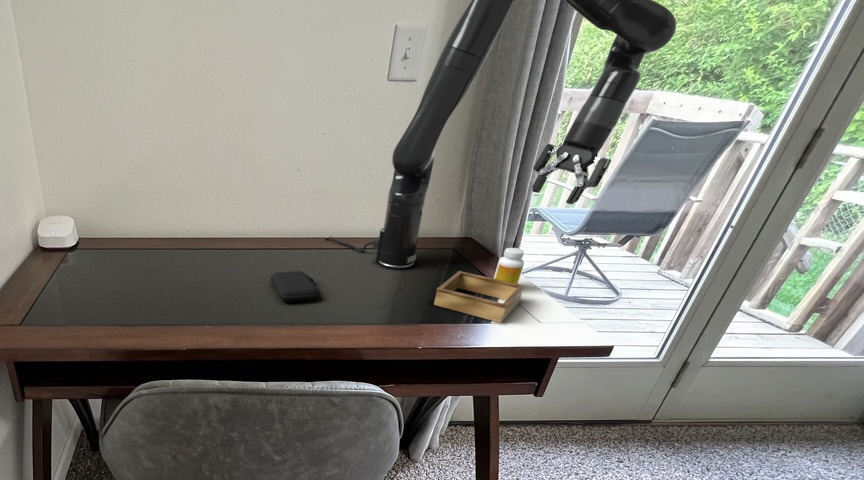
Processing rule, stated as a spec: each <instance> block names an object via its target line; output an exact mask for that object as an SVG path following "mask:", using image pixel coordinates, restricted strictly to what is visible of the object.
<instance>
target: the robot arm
mask: <svg viewBox="0 0 864 480" xmlns="http://www.w3.org/2000/svg"><path fill="white" fill-rule="evenodd" d="M514 1H515V0H471V1H470V2H469V3H468V5H467V7H466V8H465V9H464V12H463V13H462V15H461V16H460V18H459V20H457V22H456V24H455V25H454V27H453V29H452V31H451V33H450V35H449V37H448V38H447V39H446V40H447V41H446V42H445V45H444V46H443V48H442V50H441V52H440V55H439V57H438V59H437V61H436V63H435V66H434V68H433V69H432V73H431V75H430V77H429V79H428V82H427V84H426V86H425V89H424V92H423V94H422V96H421V99H420V102H419V104H418V107H417V109H416V111H415V113H414V115H413V117H412V119H411V121H410V122H409V124H408V126H407V128H406V129H405V131H404V133H403V134H402V136H401V137H400V139H399V141H398V143H397V144H396V146H394V149H393V151H392V155H391V163H392V167H393V177H392V180H391V184H390V186H389V190H388V196H387V203H386V210H385V216H384V223H383V227H382V228H381V229H379V236H378V237H377V238H375V239H373V241H368V242H367V243H365V244H364V245H363V246H362V248H358V247H357V246H355V245H353V244H351V243H348V242H344V241H341V240H339V239H337V240H334V239H336V238H335V237H333V236H330V237H331V238H334V239H330V238H327V237H325V238H324V239H323V240H324V241H328V240H333V241H334V242H335V243H337V244H341V245H344V246H347V247H349V248H353V249H354V250H356V251H357V252H361V253H362V252H365V250H366V248H367V247H368V246H369V245H370V246H371V245H372V249H373V250H376V257H375V264H379V265H380V266H382V267H385V268H388V269H393V270H394V269H395V270H405V269H410V268H412V267H413V266H414V263H415V261H416V260H417V254H416V250H417V244H418V240H419V235H420V230H421V229H420V228H421V224H422V218H423V213H424V208H425V202H426V198H427V193H428V190H429V186H430V181H431V177H432V172H433V167H434V162H435V157H436V145H437V144H438V141H439V139H440V136H441V134H442V132H443V130H444V129H445V125H446V124H447V123H448V121H449V119H450V117H451V116H452V114H453V113H454V112H455V110H456V109H457V107H458V106H459V104H460V103H461V102H462V101H463V99H464V97H465V95H466V94H467V93H468V91H469V89H470V88H471V87H472V84H473V83H474V82H475V80H476V78H477V76H478V74H479V73H480V71H481V69H482V67H483V65H484V63H485V61H486V60H487V57H489V56H488V55H489V54H490V52H491V51H492V50H491V49H492V48H493V45H494V43H495V42H496V40H497V37H498V35H499V33H500V31H501V29H502V27H503V25H504V22H505V20H506V18H507V16H508V14H509V12H510V9H511V7H512V5H513V3H514ZM563 2H565V3H566V4H567V5H569V6H570V7H571V8H572V9H573V10H574V11H576V12H577V14H579V15H580V16H582V17H583V18H584V19H586V21H587V22H589V23H590V24H592V25H593V26H594V27H596V28H597V29H599V30H602V31H608V32H613V33H614V34H616V35H615V38H614V40H613V41H612V44H611V46H610V50H609V51H608V55H607V57H606V60H605V63H604V66H603V70H602V73H601V75H600V76H599V77H598V79H597V81H596V83H595V84H594V87H593V89H592V90H591V92H590V93H589V96H588V97H587V99H586V101H585V102H584V103H583V105H582V106H581V108H580V110H579V112H578V113H577V115H576V117H575V119H574V120H573V122H572V124H571V126H570V128H569V130H568V132H567V134H566V136H564V139H563V142H562V144H561V145H560V146H557V145H554V144H551V143H547V144H546V145H545V147H544V149H543V150H542V151H541V153H540V155H539V157H538V158H537V160H536V162H535V163H534V166H533V167H532V169H533V171H535V172H536V173H537V177H536V179H535V180H534V182H533V184H532V186H531V187H532V188H531V189H532V190H531V191H532V192H533V193H537V194H539V193H540V192H541V190H542V189H543V187H544V185H545V184H546V181H547V179H548V178H549V177H548V176H549V175H551V174H552V173H554V172H556V171H559V170H562V171H566V172H569V173H571V174H572V173H573V174H574V176H575V178H576V185H575V186H574V187H573V189H572V190H571V192H570V194H569V195H568V198H567V199H566V201H565V203H566V204H568V205H574V204H575V203H577V202H579V200H580V198H581V196H582V194H583V193H584V191H585V190H587V189H589V188H597V187H598V186H599V185H600V183H601V181H602V179H603V178H604V175H605V174H606V171H607V170H608V167H609V166H610V164H611V162H612V160H611V159H610V158H608V157H598V156H599V155H598V154H599V152H600V151H601V150H602V148H603V146H604V145H605V143H606V141H607V140H608V138H609V136H610V135H611V133H612V131H613V129H614V128H615V127H616V125H617V124H618V121H619V119H620V117H621V116H622V114H623V111H624V109H625V107H626V105H627V104H628V101H629V100H630V98H631V96H632V94H633V93H634V91H635V89H636V87H637V86H638V84H639V82H640V80H641V73H640V71H639V67H640V65H641V63H642V61H643V58H644V57H645V55H646V54H651V53H654V52H656V51H659V50H661V49H663V47H665V46H666V45H667V44H668V43H669V42H670V41H671V40H672V38H673V37H674V35H675V33H676V30H677V20H676V17H675V15H674V14H673V12H672V11H671V10H670V9H668V8H667V7H666V6H664V5H662V4H661V3H659V2H657V1H655V0H563ZM552 156H556V158H555V159H554V160H552V161H550V160H551V158H552ZM549 161H550V162H549ZM593 164H594V165H593ZM591 165H593V167H594V169H593V171H592V173H591V174H590V175H589V173H590V172H589V167H590V166H591ZM589 176H590V177H589Z"/></svg>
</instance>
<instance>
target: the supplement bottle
mask: <svg viewBox="0 0 864 480" xmlns="http://www.w3.org/2000/svg"><path fill="white" fill-rule="evenodd" d="M524 254H525V251H524V250H523V249H522V248H517V247H507V248H505V249H504V252H503V256H501V257H500V258H499V259H498V262H497V265H496V268H495V272H494V275H493V279H497V280H502V281H506V282H511V283H515V284H519V281H520V277H521V274H522V272H523V269H524V265H525V261H524V260H523V257H524Z"/></svg>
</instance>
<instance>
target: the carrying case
mask: <svg viewBox="0 0 864 480" xmlns="http://www.w3.org/2000/svg"><path fill="white" fill-rule="evenodd" d="M270 282H271V284H272V286H273V288H274V290H275V292H276V294H277V296H278V297H279V299H280V300H281V301H282V302H284V303H296V302H297V303H299V302H307V301H314V300H316V298H318V296H319V290H318V288H317V286H316V285H315V284H314V283H313V282H314V278H313V277H312V276H310V275H309V274H306V273H305V272H304V271H302V270H292V271H279V272H278V271H277V272H274V273H273V274H272V275H271V276H270Z"/></svg>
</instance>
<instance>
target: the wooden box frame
mask: <svg viewBox="0 0 864 480" xmlns="http://www.w3.org/2000/svg"><path fill="white" fill-rule="evenodd" d="M493 278H494V277H493ZM493 278H492V277H488V276H483V275H479V274H476V273H475V274H474V273H470V272H467V271H466V272H465V271H461V270H458V271H457V272H455V274H453V275H452V276H451V277H449V278H448V279H447V280H445V282H443V283H442V284H441V285H439V286H438V287H437V288H436V293H435V298H434V302H433V305H434V306H437V307H440V308H444V309H448V310H451V311H456V312H459V313H463V314H466V315H469V316H473V317H477V318H481V319H485V320H487V321H492V322H496V323H499V324H502V322H503V321H504V320H505V318H507V317H508V315H510V313H511V312H512V311H513V310H514V309H515V307H516V306H517V305H518V304H519V303H520V301H521V298H522V295H523V292H524V290H525V288H526V285H523V284H520V283H518V284H515V283H511V282H506V281H502V280H497V279H493ZM458 289H460V290H465V291H467V292H471V293H476V294H479V295H480V294H481V295H484V296H489V297H492V298H496V299H500V300H505V301H504V302H499V301H496V300H491V299H487V298H482V297H479V296H475V295H471V294H467V293H463V292H459V291H456V290H458Z"/></svg>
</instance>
